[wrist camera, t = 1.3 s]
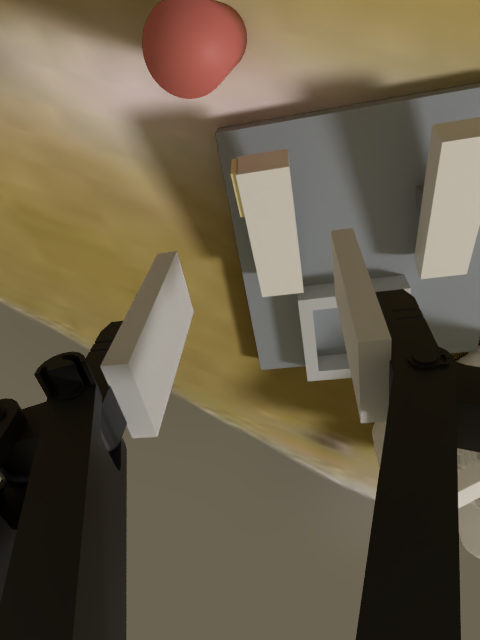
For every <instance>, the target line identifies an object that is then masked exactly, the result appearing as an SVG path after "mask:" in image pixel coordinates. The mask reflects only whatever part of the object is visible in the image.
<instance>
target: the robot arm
mask: <svg viewBox="0 0 480 640" xmlns="http://www.w3.org/2000/svg"><path fill="white" fill-rule="evenodd" d="M331 241H332V256H333V271H334V286H335V298H336V303H337V308H338V312H339V317H340V322H341V327H342V332H343V337H344V342H345V347H346V352H347V357H348V362H349V367H350V372H351V377H352V382H353V387H354V392H355V397H356V401H357V406H358V411H359V416H360V421H361V423H374V422H386V428H385V435H384V443H383V450H382V457H381V464H380V471H379V478H378V485H377V492H376V499H375V507H374V514H373V521H372V528H371V535H370V542H369V549H368V557H367V564H366V571H365V578H364V586H363V592H362V599H361V606H360V613H359V620H358V627H357V635H356V640H461V625H460V624H461V623H460V571H459V517H458V465H457V448H459V449H464V450H469V451H474V452H479V453H480V367H476V366H470V365H465V364H462V363H459V362H456V361H455V360H454V357H453V356H452V355H451V354H450V353H449V352H448V351H447V350H445V349H443V348H441V347H439V346H438V345H437V343H436V341H435V338H434V336H433V334H432V332H431V330H430V328H429V326H428V324H427V322H426V320H425V318H424V317H423V314H422V312H421V310H420V309H419V305H418V303H417V301H416V299H415V297H414V296H412V295H411V294H409V293H408V292H407V291H405V290H404V289H398V290H389V291H380V292H375V290H374V287H373V285H372V282H371V279H370V276H369V273H368V270H367V267H366V265H365V262H364V259H363V256H362V253H361V250H360V247H359V245H358V242H357V239H356V236H355V233H354V230H353V228H348V229H340V230H333V231H331ZM193 312H194V311H193V308H192V304H191V300H190V297H189V293H188V290H187V286H186V282H185V279H184V275H183V272H182V268H181V264H180V261H179V257H178V253H177V251H175V252H168V253H160V254H157V256H156V258H155V260H154V262H153V264H152V266H151V268H150V270H149V272H148V274H147V276H146V278H145V279H144V281H143V283H142V285H141V287H140V289H139V291H138V293H137V295H136V297H135V299H134V301H133V303H132V305H131V307H130V309H129V311H128V313H127V315H126V317H125V319H124V321H117V322H111V323H110V324H109V325H108V326H107V327H106V328H104V329H103V330H102V331H101V332H100V334H99V336H98V337H97V339H96V341H95V344H94V345H93V346H92V348H91V350H90V351H91V352H89V353H88V355H87V357H86V359H85V357H84V355H82V354H81V353H79V352H67V353H62V354H59V355H56V356H54V357H52V358H50V359H49V360H47V361H45V362H44V363H43V364H42V365H41V366H40V367H39V368H38V369H37V371H36V373H35V374H34V375H35V377H36V378H37V380H38V382H39V384H40V385H41V387H42V389H43V391H44V392H45V394H46V396H47V401H46V402H44V403H41V404H38V405H34V406H31V407H28V408H25V409H21V408H20V406H19V405H18V403H17V402H16V401H15V400H13V399H1V400H0V477H1V478H2V480H1V482H0V640H126V490H127V488H126V487H127V477H126V475H127V474H126V473H127V472H126V471H127V470H126V469H127V467H126V466H127V460H126V459H127V456H126V455H127V452H126V451H127V449H126V445H125V442H124V440H123V438H122V435H123V432H124V430H125V427H126V425H127V427H128V429H129V432H130V434H131V436H132V438H146V437H157V436H158V433H159V429H160V426H161V423H162V419H163V416H164V412H165V409H166V405H167V402H168V398H169V395H170V392H171V388H172V385H173V381H174V378H175V374H176V371H177V367H178V364H179V361H180V357H181V354H182V350H183V347H184V343H185V340H186V336H187V333H188V329H189V326H190V323H191V319H192V316H193Z"/></svg>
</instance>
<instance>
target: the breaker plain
mask: <svg viewBox="0 0 480 640" xmlns="http://www.w3.org/2000/svg"><path fill="white" fill-rule="evenodd" d="M479 226H480V117H475V118H469V119H463V120H457V121H451V122H445V123H439V124H433V125H432V131H431V138H430V145H429V153H428V160H427V167H426V175H425V182H424V189H423V196H422V204H421V211H420V218H419V226H418V233H417V240H416V248H415V255H414V262H415V265H416V268H417V271H418V274H419V276H420V279H428V278H437V277H446V276H455V275H464V274H467V271H468V268H469V264H470V260H471V256H472V252H473V249H474V245H475V241H476V237H477V233H478V230H479Z"/></svg>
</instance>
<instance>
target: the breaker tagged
mask: <svg viewBox="0 0 480 640" xmlns="http://www.w3.org/2000/svg"><path fill="white" fill-rule="evenodd" d="M231 178H232V182H233V187H234V191H235V195H236V200H237V204H238V209H239V213H240V217H245V220H246V225H247V229H248V234H249V238H250V243H251V248H252V252H253V257H254V261H255V266H256V271H257V275H258V280H259V284H260V289H261V294H262V297H269V296H278V295H287V294H296V293H304V290H303V280H302V270H301V261H300V252H299V244H298V235H297V226H296V218H295V209H294V200H293V192H292V183H291V174H290V166H289V157H288V148H287V149H281V150H275V151H269V152H263V153H257V154H250V155H244V156H238V157H237V159H232V162H231Z"/></svg>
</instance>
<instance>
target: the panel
mask: <svg viewBox="0 0 480 640" xmlns="http://www.w3.org/2000/svg"><path fill="white" fill-rule="evenodd" d="M475 117H480V83H474V84H469V85H463V86H457V87H452V88H446V89H440V90H435V91H429V92H423V93H418V94H412V95H406V96H401V97H395V98H389V99H383V100H378V101H372V102H366V103H361V104H355V105H349V106H344V107H338V108H332V109H327V110H321V111H315V112H310V113H304V114H298V115H292V116H287V117H281V118H275V119H270V120H264V121H258V122H253V123H247V124H241V125H236V126H230V127H224V128H218V129H217V131H216V133H215V135H216V140H217V146H218V151H219V156H220V161H221V166H222V171H223V176H224V182H225V187H226V192H227V197H228V202H229V207H230V212H231V218H232V223H233V228H234V233H235V238H236V243H237V248H238V254H239V259H240V264H241V269H242V274H243V279H244V284H245V290H246V295H247V300H248V305H249V310H250V315H251V320H252V326H253V331H254V336H255V341H256V346H257V351H258V356H259V362H260V367H261V370H267V369H278V368H289V367H301V366H306V372H307V380H308V381H320V380H332V379H344V378H352V377H351V372H350V367H349V362H348V357H347V352H346V347H345V342H344V337H343V332H342V327H341V322H340V317H339V312H338V308H337V303H336V298H335V286H334V271H333V256H332V241H331V231H333V230H340V229H348V228H353V230H354V233H355V236H356V239H357V242H358V245H359V247H360V250H361V253H362V256H363V259H364V262H365V265H366V267H367V270H368V273H369V276H370V279H371V282H372V285H373V287H374V290H375V292H380V291H389V290H398V289H404V290H405V291H407V292H408V293H409V294H411V295H412V296H414V297H415V299H416V301H417V303H418V305H419V309H420V310H421V312H422V314H423V317H424V318H425V320H426V322H427V324H428V326H429V328H430V330H431V332H432V334H433V336H434V338H435V341H436V343H437V345H438V346H439V347H441V348H443V349H445V350H447V351H448V352H449V353H461V352H473V351H477V350H478V343H479V337H480V226H479V230H478V233H477V237H476V241H475V245H474V249H473V252H472V256H471V260H470V264H469V268H468V271H467V274H464V275H455V276H446V277H437V278H428V279H420V276H419V274H418V271H417V268H416V265H415V262H414V255H415V248H416V240H417V233H418V226H419V218H420V211H421V204H422V196H423V189H424V182H425V175H426V167H427V160H428V153H429V145H430V138H431V131H432V125H433V124H439V123H445V122H451V121H457V120H463V119H469V118H475ZM287 148H288V157H289V166H290V174H291V183H292V192H293V200H294V209H295V218H296V226H297V235H298V244H299V252H300V261H301V270H302V280H303V290H304V293H296V294H287V295H278V296H269V297H262V294H261V289H260V284H259V280H258V275H257V271H256V266H255V261H254V257H253V252H252V248H251V243H250V238H249V234H248V229H247V225H246V220H245V217H240V213H239V209H238V204H237V200H236V195H235V191H234V187H233V182H232V178H231V162H232V159H237V157H238V156H244V155H250V154H257V153H263V152H269V151H275V150H281V149H287Z"/></svg>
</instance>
